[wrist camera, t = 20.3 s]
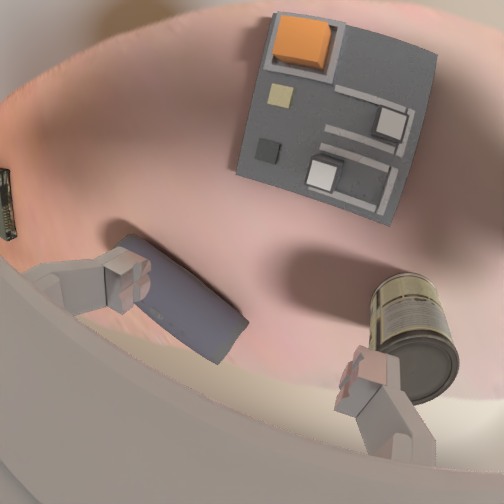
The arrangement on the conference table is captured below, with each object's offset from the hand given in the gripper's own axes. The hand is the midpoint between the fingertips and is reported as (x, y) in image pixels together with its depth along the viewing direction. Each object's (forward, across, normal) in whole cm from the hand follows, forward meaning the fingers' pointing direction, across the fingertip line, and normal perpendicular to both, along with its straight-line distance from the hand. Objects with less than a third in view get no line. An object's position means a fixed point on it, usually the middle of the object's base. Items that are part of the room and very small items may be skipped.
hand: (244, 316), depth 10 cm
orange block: (+27, +7, -16) cm, 32 cm away
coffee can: (+29, -15, +12) cm, 35 cm away
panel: (+29, +2, -9) cm, 31 cm away
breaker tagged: (+27, -4, -9) cm, 29 cm away
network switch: (+30, +91, +26) cm, 99 cm away
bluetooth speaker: (+30, +17, +22) cm, 41 cm away
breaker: (+27, +1, -2) cm, 27 cm away
